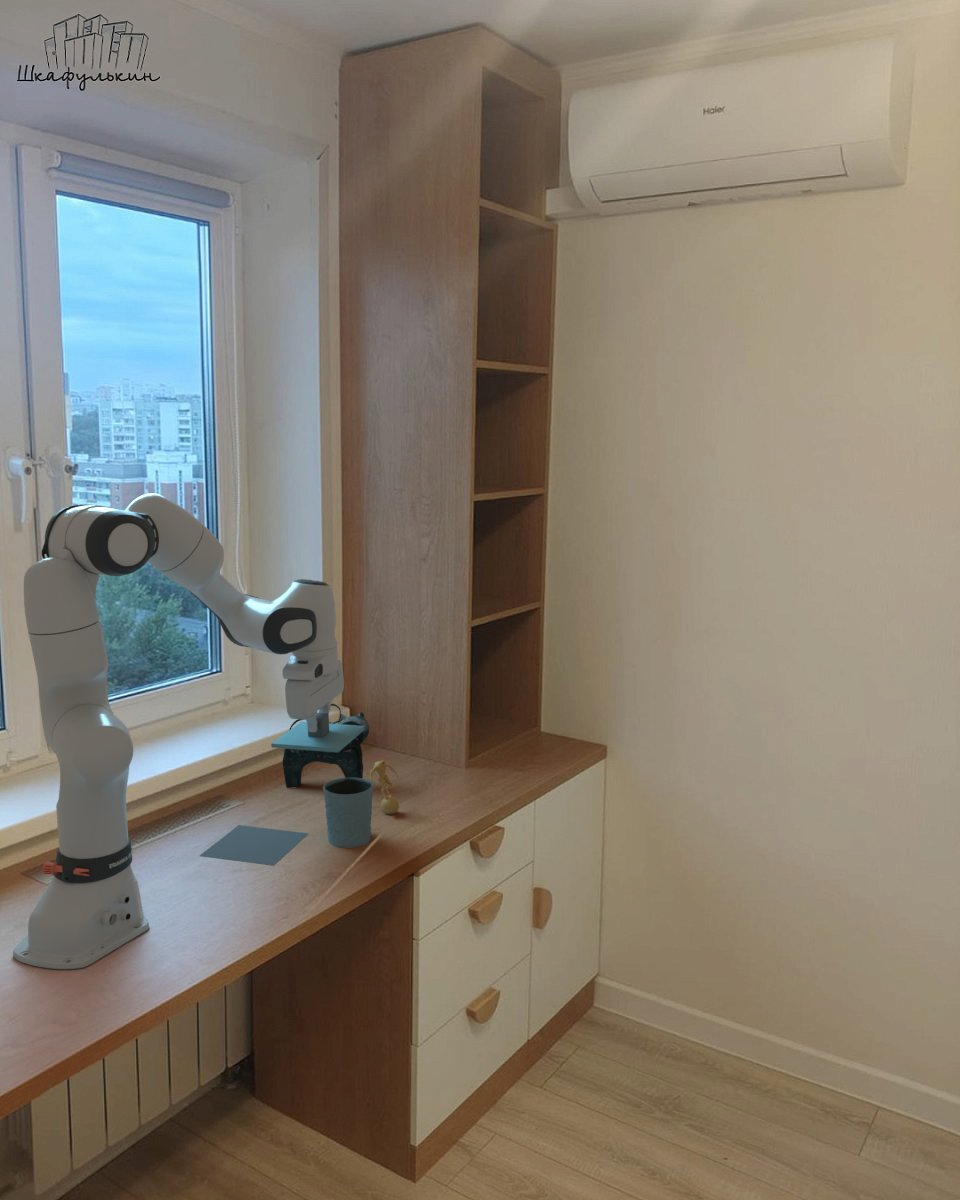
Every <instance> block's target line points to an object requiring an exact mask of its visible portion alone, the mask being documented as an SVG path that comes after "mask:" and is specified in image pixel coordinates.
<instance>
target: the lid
mask: <svg viewBox="0 0 960 1200" xmlns="http://www.w3.org/2000/svg"><path fill="white" fill-rule="evenodd" d="M329 715H330V712H329V713H319V712H317V715H316V719H317V722H319V730H318V731H316V732H309V731H308V723H307V721H299V722H298V723H296V724H295V725H293V726H292V728H291V729H290V728H289V729H290V730H288V731H286V732H285V733H283V734H282V735H281V736H279V737H278V738H277V739H275V740H274V741H273V742H271V744H270V747H271V748H273V749H274V748H275V749H284V748H286V749H299V750H312V751H325V752H339V751H341V750H342V749H343V748H344V747H345V746H346V745H347V744H349V743H350V742H351V741H352V740H353V739H354V738H356V737H357V736H358V735H359V734H360V733H361V732H363V731H364V730H365V727H364V726H358V725H343V724H338V723H335V724H329V722H330V718H329V717H330V716H329Z"/></svg>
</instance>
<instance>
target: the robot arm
mask: <svg viewBox="0 0 960 1200" xmlns="http://www.w3.org/2000/svg"><path fill="white" fill-rule="evenodd" d="M44 533H45V534H44V542H43V546H42V549H41V557H42V559H40V560H38V561H36V562H34V563H33V564H32V565H31V566H30V567H28V568H27V570H26V571H25V574H24V577H23V605H24V614H25V621H26V627H27V632H28V638H29V641H30V647H31V652H32V657H33V662H34V667H35V670H36V675H37V682H38V683H37V684H38V696H39V698H38V699H39V708H40V715H41V721H42V730H43V735H44V736H43V737H44V739H45V741H46V744H47V745H48V747H49V748H50V749H51V750H52V751H53V753H54V754H55V755H56V758H57V762H58V764H59V765H58V766H59V772H60V773H59V774H60V777H59V793H58V800H57V802H56V807H55V808H56V809H55V810H56V820H57V832H58V833H57V834H58V835H57V836H58V848H57V850H56V856H55V859H54V862H52V861H49V860H48V861H45V862H44V863H43V866H42V869H41V871H42V873H43V874H44V875H52V876H53V877H52V879H51V881H50V882H49V884H48V886H47V887H46V889H45V890H44V892H43V894H42V896H41V897H40V898H39V900H38V902H37V903H36V906H35V907H34V908H33V910H32V911H31V913H30V916H29V918H28V925H27V935H26V937H24V938H23V939H22V940H21V942H19V943H18V944H17V945H16V947H15V948H14V949H13V951H12V956H13V958H14V959H15V960H17V961H18V962H21V963H23V964H26V965H30V966H34V967H39V968H43V969H44V968H45V969H54V970H75V969H81V968H86V967H87V966H90V965H91V964H93V963H95V962H96V961H98V960H100V959H102V958H103V957H105V956H107V955H108V954H109V953H111V952H113V951H115V950H116V949H118V948H120V947H121V946H123V945H125V944H126V943H128V942H130V941H131V940H133V939H135V938H136V937H138V936H140V935H141V934H143V933H144V932H146V931H148V930H149V929H150V924H149V921H148V919H146V917H145V916H144V912H143V911H144V910H143V904H142V899H141V893H140V892H141V891H140V888H139V882H138V879H137V878H136V876H135V874H134V871H133V868H132V865H131V864H132V862H133V847H132V841H131V839H130V837H129V831H128V830H129V828H128V815H127V814H128V813H127V812H128V811H127V790H128V781H129V773H130V765H131V763H132V760H133V756H134V745H133V740H132V737H131V735H130V734H131V733H130V732H129V729H128V727H127V725H125V723H124V722H123V721H122V720H121V719H120V718H118V717H117V715H115V714H114V712H113V710H112V708H111V705H110V701H109V694H108V669H109V659H108V658H109V657H108V655H107V649H106V643H105V638H104V634H103V629H102V623H101V619H100V618H101V617H100V613H99V609H98V605H97V601H96V597H97V595H96V594H97V593H96V591H97V586H98V585H97V584H98V582H99V579H100V577H101V575H103V576H105V575H106V576H110V577H121V576H128V575H130V574H134V573H135V572H136V571H138V570H140V569H142V568H143V566H145V564H146V563H147V562H148V563H150V564H151V565H152V566H153V567H154V568H155V569H156V570H158V571H159V572H160V573H161V574H163V575H164V576H165V577H167V578H168V579H169V580H171V581H173V582H174V583H175V584H177V585H178V586H180V587H182V588H184V589H186V590H187V591H188V592H190V593H191V595H193V596H194V597H195V598H196V599H197V600H198V601H199V602H200V603H202V605H203V606H205V608H207V609H208V610H209V611H210V612H211V613H212V614H213V615H214V616H215V617H216V619H217V620H218V622H219V624H220V625H221V628H222V630H223V633H224V634H225V636H226V637H227V639H228V640H229V641H230V642H232V643H233V644H234V645H237V646H240V647H246V648H251V649H255V650H259V651H263V652H266V653H270V654H274V655H287V654H290V653H291V654H290V655H289V656H290V657H289V659H288V661H287V663H286V664H285V666H283V669H282V678H283V679H284V680H286V681H285V683H284V684H285V685H284V694H285V707H286V712H287V716H288V717H289V719H292V720H298V719H302V720H301V721H303V720H304V719H306V720H305V722H307V723H308V731H309V732H316V731H318V730H319V722H317V719H316V715H317V713H329V714H330V709H331V707H332V706H331V704H332V703H331V702H332V701H333V700H334V699H335V698H336V697H339V696H340V695H341V694H342V693H344V690H345V689H344V688H345V679H344V671H343V669H344V668H343V664H342V661H341V660H340V659H338V657H339V655H338V653H339V652H338V641H337V638H336V635H335V630H336V627H337V626H336V625H337V614H336V613H337V612H336V604H335V597H334V593H333V589H332V588H331V586H330V585H329V584H328V583H327V582H324V581H321V580H315V579H314V580H312V579H302V578H301V579H296V580H293V581H292V582H291V585H290V586H289V588H287V590H286V591H285V592H284V593H282V595H280V596H279V597H277V598H276V599H273V600H267V599H264V598H260V597H258V596H254V595H250V594H248V593H247V594H246V593H242V592H240V591H239V590H237V588H236V587H235V586H234V585H233V584H232V583H231V582H230V581H229V580H228V579H226V577H224V576H223V575H222V574H221V573H220V572H221V569H222V567H223V565H224V564H223V563H224V560H225V550H224V549H225V548H224V547H223V545H222V543H221V542H220V541H219V539H218V538H217V536H216V535H215V534H214V533H213V532H212V531H211V530H210V529H209V528H208V527H206V526H205V525H204V524H203V523H202V521H200V520H199V519H198V518H196V517H195V516H194V515H193V514H192V513H191V512H189V511H188V510H186V509H185V508H183V507H182V506H180V505H179V504H177V503H176V502H175V501H173V500H170V499H169V498H167V497H165V496H164V495H161V494H159V493H145V494H142V495H140V496H138V497H137V498H135V499H134V500H133V501H132V502H131V503H129V504H128V506H127V507H126V508H125V509H115V508H110V507H108V506H103V505H94V504H93V505H91V504H90V505H84V504H75V505H70V506H67V507H64V508H62V509H60V510H59V511H57V512H56V513H55V514H54V515H52V517H50V519H49V521H48V523H47V526H46V527H45V532H44ZM46 557H47V558H46Z"/></svg>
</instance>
